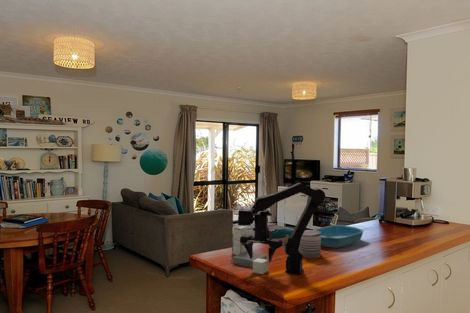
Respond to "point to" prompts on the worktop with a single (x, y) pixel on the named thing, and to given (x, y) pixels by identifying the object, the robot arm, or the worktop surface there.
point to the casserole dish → (339, 235)
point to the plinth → (247, 258)
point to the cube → (260, 266)
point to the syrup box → (238, 239)
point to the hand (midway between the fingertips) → (260, 260)
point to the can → (310, 244)
